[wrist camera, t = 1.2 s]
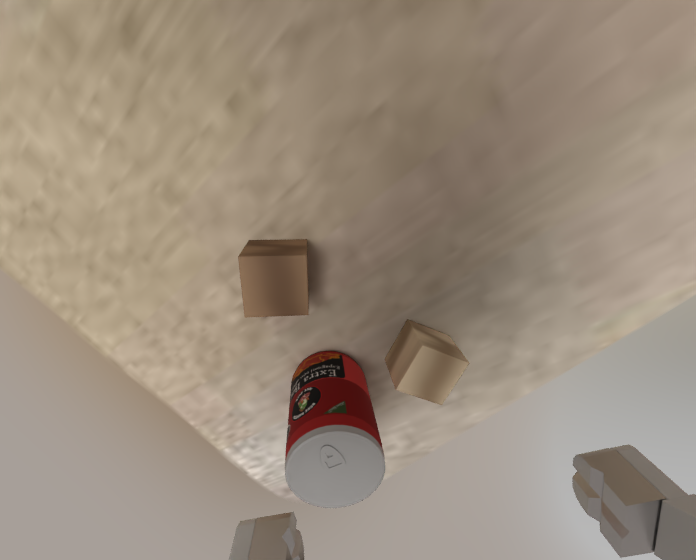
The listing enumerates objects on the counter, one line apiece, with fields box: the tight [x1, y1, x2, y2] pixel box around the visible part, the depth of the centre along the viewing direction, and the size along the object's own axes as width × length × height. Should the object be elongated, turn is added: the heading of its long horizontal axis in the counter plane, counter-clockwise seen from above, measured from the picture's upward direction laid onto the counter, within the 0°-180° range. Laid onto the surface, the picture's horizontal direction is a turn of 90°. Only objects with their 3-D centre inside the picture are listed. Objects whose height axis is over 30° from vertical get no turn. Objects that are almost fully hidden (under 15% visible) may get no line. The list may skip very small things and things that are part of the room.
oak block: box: [385, 319, 469, 405], centre depth 34 cm, size 5×5×5 cm
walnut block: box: [238, 239, 309, 317], centre depth 29 cm, size 5×5×5 cm
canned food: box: [285, 351, 385, 508], centre depth 31 cm, size 8×8×11 cm
